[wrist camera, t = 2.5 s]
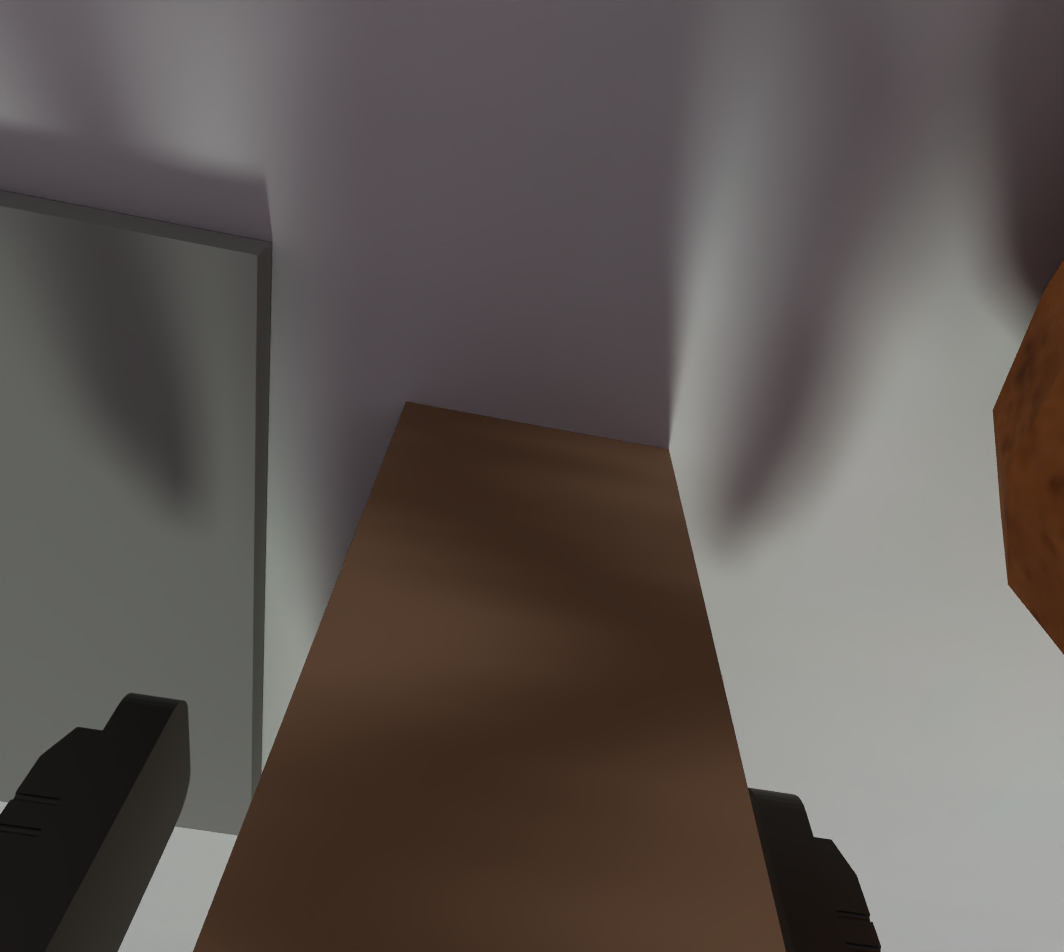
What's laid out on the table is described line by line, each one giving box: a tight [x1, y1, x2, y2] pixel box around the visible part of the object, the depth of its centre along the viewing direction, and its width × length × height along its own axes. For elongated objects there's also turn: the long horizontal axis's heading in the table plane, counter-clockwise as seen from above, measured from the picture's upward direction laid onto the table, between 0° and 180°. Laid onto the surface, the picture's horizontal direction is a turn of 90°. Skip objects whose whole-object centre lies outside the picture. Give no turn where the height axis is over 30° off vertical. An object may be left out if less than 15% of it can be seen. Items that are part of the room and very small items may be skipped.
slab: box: [193, 402, 786, 952], centre depth 10 cm, size 4×9×10 cm, turn 170°
